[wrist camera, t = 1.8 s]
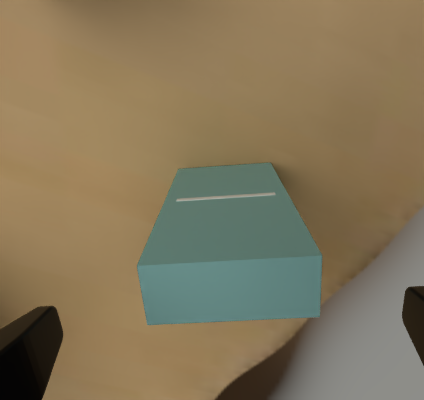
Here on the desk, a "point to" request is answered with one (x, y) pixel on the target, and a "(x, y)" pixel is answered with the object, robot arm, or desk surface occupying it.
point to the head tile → (229, 250)
